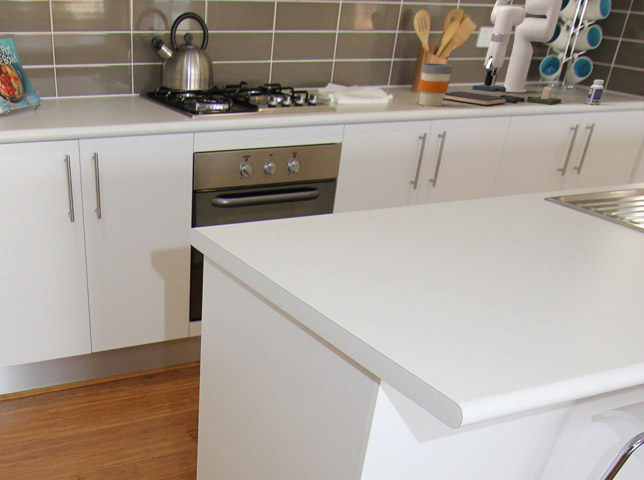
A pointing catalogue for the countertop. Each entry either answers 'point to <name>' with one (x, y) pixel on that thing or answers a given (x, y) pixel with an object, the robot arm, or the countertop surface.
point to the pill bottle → (595, 92)
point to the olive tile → (543, 101)
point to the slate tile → (490, 87)
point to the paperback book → (474, 98)
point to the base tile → (512, 99)
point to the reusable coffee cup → (434, 83)
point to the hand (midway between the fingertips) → (489, 84)
